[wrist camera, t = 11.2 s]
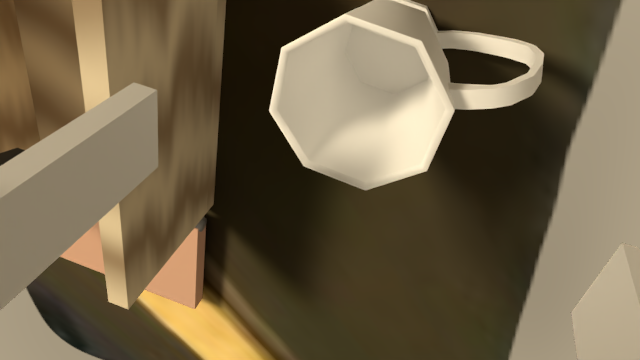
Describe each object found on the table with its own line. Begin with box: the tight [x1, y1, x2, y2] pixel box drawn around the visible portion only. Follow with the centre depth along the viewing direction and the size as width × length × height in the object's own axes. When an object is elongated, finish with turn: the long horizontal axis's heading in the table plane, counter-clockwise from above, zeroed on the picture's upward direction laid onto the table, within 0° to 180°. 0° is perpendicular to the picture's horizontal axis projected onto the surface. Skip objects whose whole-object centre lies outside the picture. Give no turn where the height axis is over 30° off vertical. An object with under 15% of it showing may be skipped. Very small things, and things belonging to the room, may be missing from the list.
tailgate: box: [60, 217, 207, 309], centre depth 38 cm, size 1×14×9 cm
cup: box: [269, 0, 544, 190], centre depth 21 cm, size 7×10×8 cm
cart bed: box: [0, 0, 226, 309], centre depth 26 cm, size 20×14×10 cm
